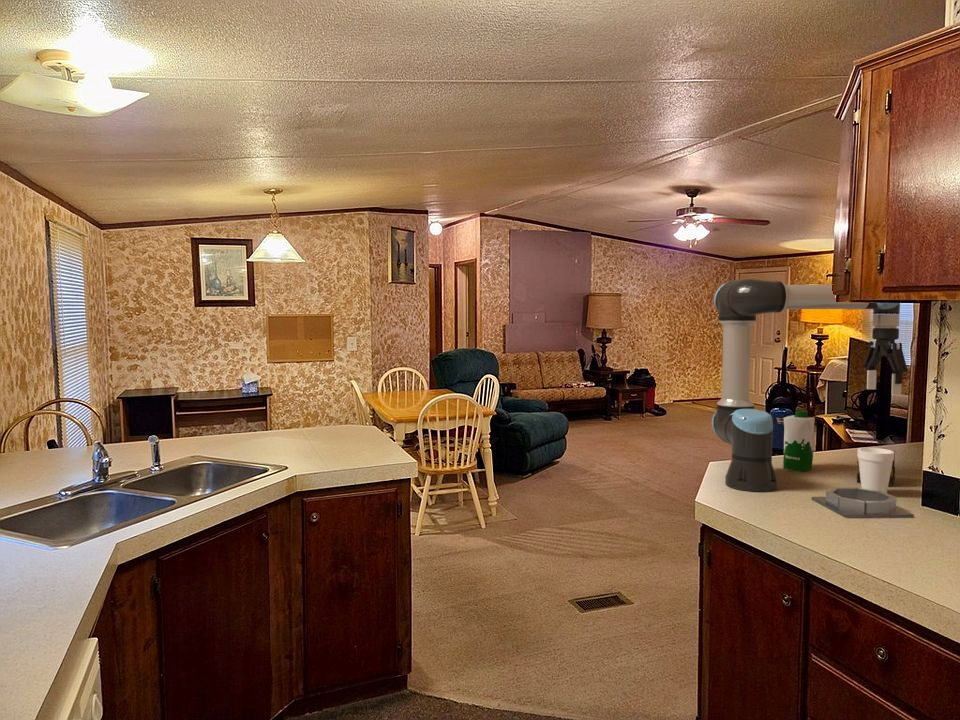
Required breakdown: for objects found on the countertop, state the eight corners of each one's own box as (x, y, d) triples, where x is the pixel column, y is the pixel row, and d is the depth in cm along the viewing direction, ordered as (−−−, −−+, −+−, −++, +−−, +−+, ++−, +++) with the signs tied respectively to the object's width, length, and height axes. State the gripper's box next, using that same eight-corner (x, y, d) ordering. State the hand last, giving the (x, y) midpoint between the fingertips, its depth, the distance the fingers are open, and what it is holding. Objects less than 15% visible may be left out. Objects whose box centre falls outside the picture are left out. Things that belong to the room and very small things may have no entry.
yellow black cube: (895, 481, 219) (896, 450, 218) (893, 487, 210) (894, 455, 210) (858, 477, 224) (860, 447, 224) (856, 483, 216) (857, 452, 215)
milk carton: (815, 468, 236) (817, 411, 234) (804, 472, 230) (806, 414, 228) (790, 464, 242) (791, 409, 241) (779, 468, 236) (780, 411, 235)
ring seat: (846, 518, 179) (846, 503, 179) (811, 499, 197) (811, 486, 197) (913, 517, 179) (914, 503, 179) (872, 499, 197) (873, 486, 197)
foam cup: (897, 498, 198) (899, 454, 197) (862, 496, 200) (864, 453, 199) (885, 490, 207) (886, 448, 206) (851, 488, 209) (853, 447, 208)
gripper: (922, 328, 211) (919, 396, 212) (874, 326, 236) (872, 387, 237) (898, 328, 211) (895, 396, 212) (853, 326, 236) (851, 387, 237)
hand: (883, 391), depth 225 cm, fingers open, 13 cm apart
